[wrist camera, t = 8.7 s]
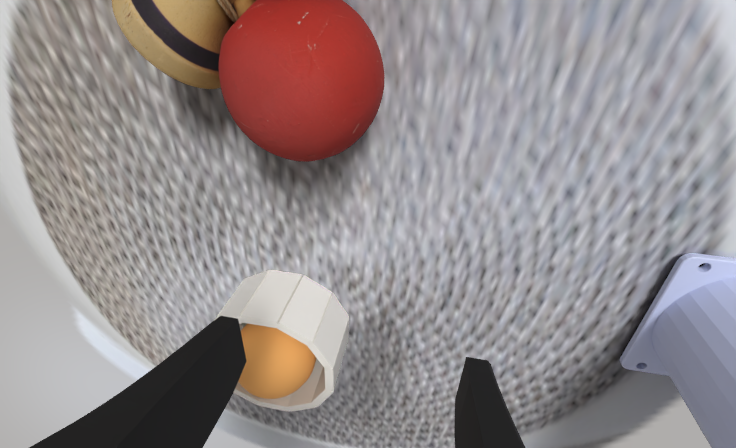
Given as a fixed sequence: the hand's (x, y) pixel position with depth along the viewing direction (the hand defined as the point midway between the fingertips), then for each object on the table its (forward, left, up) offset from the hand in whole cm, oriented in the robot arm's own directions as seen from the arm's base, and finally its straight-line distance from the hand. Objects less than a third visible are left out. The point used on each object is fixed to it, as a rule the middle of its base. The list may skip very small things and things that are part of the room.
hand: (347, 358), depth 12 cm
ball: (+6, +9, -6) cm, 13 cm away
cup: (+6, +9, -9) cm, 14 cm away
